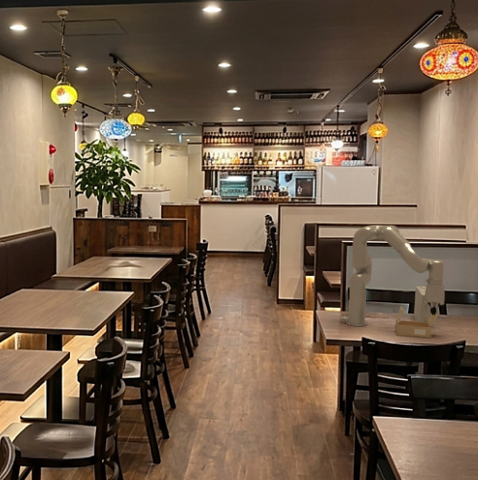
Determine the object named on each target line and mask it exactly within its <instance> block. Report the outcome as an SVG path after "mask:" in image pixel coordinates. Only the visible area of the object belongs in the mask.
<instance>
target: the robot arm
mask: <svg viewBox="0 0 478 480" xmlns="http://www.w3.org/2000/svg"><path fill="white" fill-rule="evenodd" d="M372 240H384V241H385V242H387V244H388V245H389V246H391V248H392V249H394V250H395V252H396V253H398V255H399V256H400V257H401V258H402V260H403V261H404V262H405V263H406V264H407V265H408V266H409V268H411V269H412V270H413V271H414V272H416V273H418V274H423V273H425V272H428V278H427V279H425V283H426V286H425V287H426V290H425V300H424V303H425V304H428V305H429V306H430V307H431V309H430V313H431V314H432V315H433V314H434V315H435V313H436V310H437V309H438V307H440V306H443V305H445V285H444V284H443V281H444V267H445V262H444V260H441V259H430V258H424V257H420V256H419V255H418V254H417V253H416V252H415V251H414V250H413V248H412V245H411V243H410V241H408V240H407V239H406V238H405V237H404V236H403V235H402V234H401V233H400V230H399V228H398V227H397V226H396V225H380V224H378V225H375V224H374V225H367V226H364V227H361V228H360V229H357V230H356V232H355V233H354V235H353V238H352V253H351V265H352V267H353V269H354V270H355V272H354V273H352V274H351V276H350V277H349V281H348V283H349V285H348V286H349V302H348V314H347V315H346V316H345V315H341V316H340V319H341V320H343V321H345V324H347V325H348V326H352V327H366V326H368V322H367V321H366V319H365V318H366V301H367V298H366V297H367V292H366V291H367V290H366V286H368V285H369V283H370V282H371V279H372V269H373V268H372V265H373V264H372V258H371V256H370V255H369V254H368V245H367V243H368V241H369V242H370V241H372Z"/></svg>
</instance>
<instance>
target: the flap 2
mask: <svg viewBox="0 0 478 480" xmlns="http://www.w3.org/2000/svg"><path fill="white" fill-rule="evenodd" d="M439 314H440V313H439V311H437V310H436V313H435V315H434V314H433V315H431V316H430V318H429V320H428V322H429V324H430V325H431V327H432V326H433V324H434V322H435V321H436V319H437V317H438V315H439Z"/></svg>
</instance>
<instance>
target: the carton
mask: <svg viewBox="0 0 478 480" xmlns="http://www.w3.org/2000/svg"><path fill="white" fill-rule="evenodd" d="M394 327H395V333H396V336H399V337H410V338H411V337H412V338H424V339H431V338H432V326H430V324H429V322H417V321H416V320H415V321H414V320H404V319H403V320H402V319H400V322H399V323H398V322H397V319H396V320H395V326H394Z"/></svg>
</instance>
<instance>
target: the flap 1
mask: <svg viewBox="0 0 478 480" xmlns="http://www.w3.org/2000/svg"><path fill="white" fill-rule="evenodd" d="M397 313H398V314H397V315H396V318H395V319H396V320H397V322H398V323H399V322H400V320H402V319H401V318H402V316H403V314H404V308H403V306H402V305H401V306H400V307H399V310H398V312H397Z"/></svg>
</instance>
